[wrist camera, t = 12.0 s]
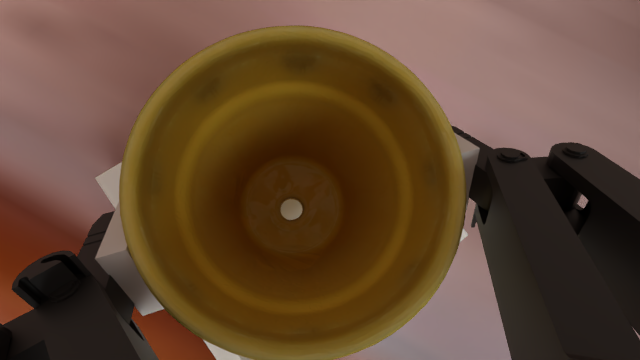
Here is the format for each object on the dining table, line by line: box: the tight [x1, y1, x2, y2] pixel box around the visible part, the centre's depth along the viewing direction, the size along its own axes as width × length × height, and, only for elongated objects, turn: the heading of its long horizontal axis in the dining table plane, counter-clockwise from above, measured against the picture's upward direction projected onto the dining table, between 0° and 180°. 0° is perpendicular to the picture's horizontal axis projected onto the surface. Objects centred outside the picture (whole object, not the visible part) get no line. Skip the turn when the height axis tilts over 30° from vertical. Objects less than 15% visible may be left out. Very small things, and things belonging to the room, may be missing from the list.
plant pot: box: [119, 26, 467, 360], centre depth 13 cm, size 10×10×10 cm
